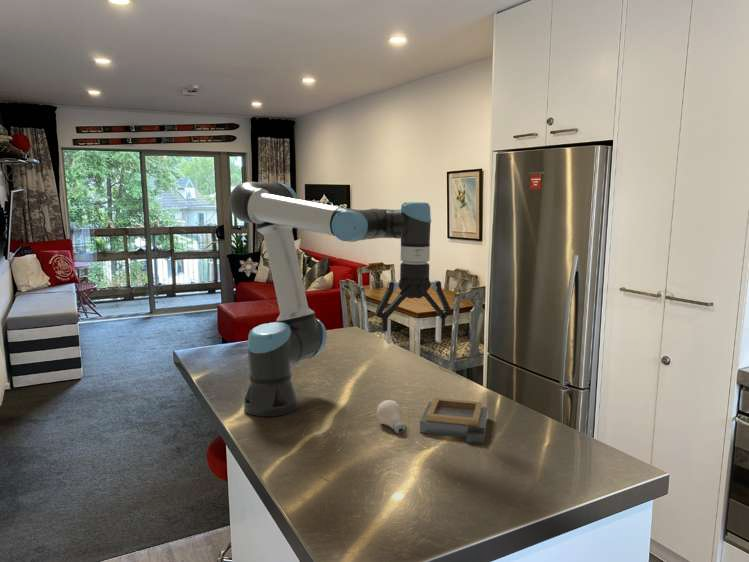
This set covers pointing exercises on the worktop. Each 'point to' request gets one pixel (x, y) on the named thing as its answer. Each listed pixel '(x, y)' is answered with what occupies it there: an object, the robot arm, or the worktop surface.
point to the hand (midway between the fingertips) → (413, 342)
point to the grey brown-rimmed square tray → (455, 419)
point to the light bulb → (390, 415)
